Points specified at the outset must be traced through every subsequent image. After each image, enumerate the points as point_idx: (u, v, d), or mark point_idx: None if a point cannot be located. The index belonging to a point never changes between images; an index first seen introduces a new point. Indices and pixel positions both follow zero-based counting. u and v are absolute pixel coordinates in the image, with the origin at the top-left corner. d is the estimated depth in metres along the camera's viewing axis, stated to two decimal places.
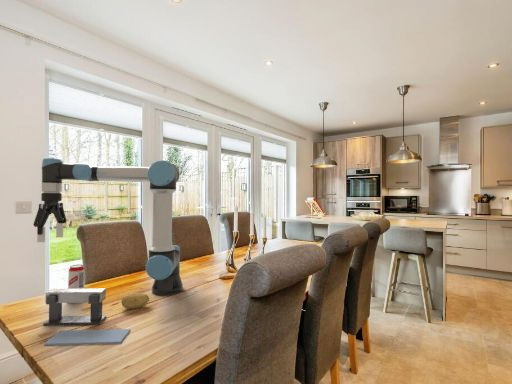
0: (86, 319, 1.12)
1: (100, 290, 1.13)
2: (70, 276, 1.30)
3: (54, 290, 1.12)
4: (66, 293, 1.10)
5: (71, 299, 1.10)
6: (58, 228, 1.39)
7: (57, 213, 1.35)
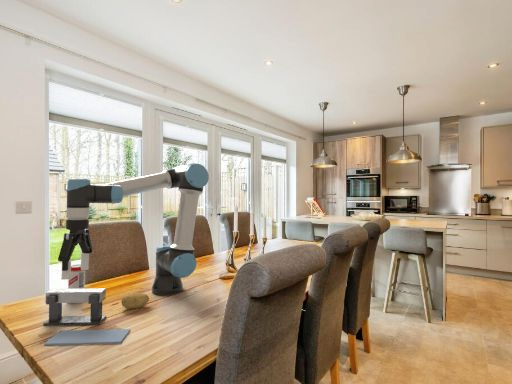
0: (86, 319, 1.12)
1: (100, 290, 1.13)
2: None
3: (54, 290, 1.12)
4: (66, 293, 1.10)
5: (71, 299, 1.10)
6: (83, 259, 1.19)
7: (83, 242, 1.16)
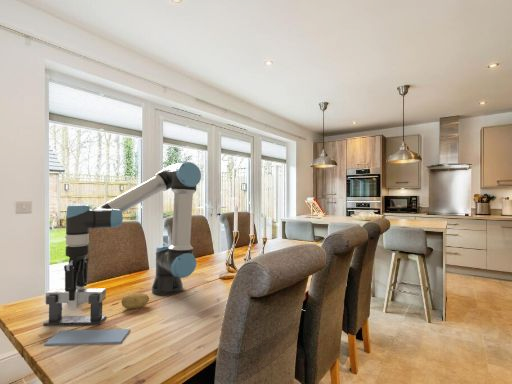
0: (86, 319, 1.12)
1: (100, 290, 1.13)
2: None
3: (54, 290, 1.12)
4: (66, 293, 1.10)
5: None
6: None
7: (80, 270, 1.14)
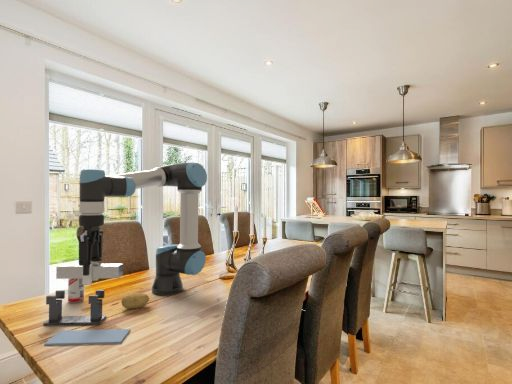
0: (86, 319, 1.12)
1: (117, 265, 1.01)
2: None
3: (66, 265, 1.00)
4: (79, 267, 0.98)
5: None
6: None
7: (95, 243, 1.02)
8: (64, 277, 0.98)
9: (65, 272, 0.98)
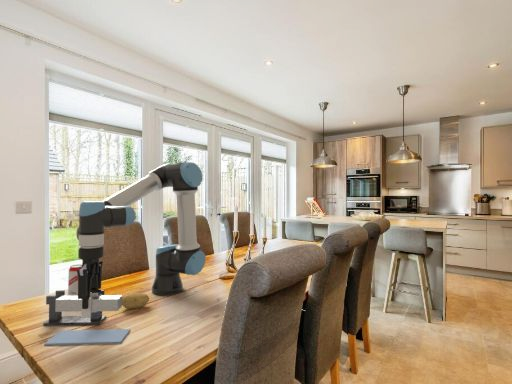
0: (86, 319, 1.12)
1: (116, 297, 1.00)
2: (70, 276, 1.30)
3: (65, 297, 1.00)
4: (78, 300, 0.98)
5: None
6: None
7: (94, 275, 1.02)
8: (63, 310, 0.98)
9: (64, 305, 0.98)
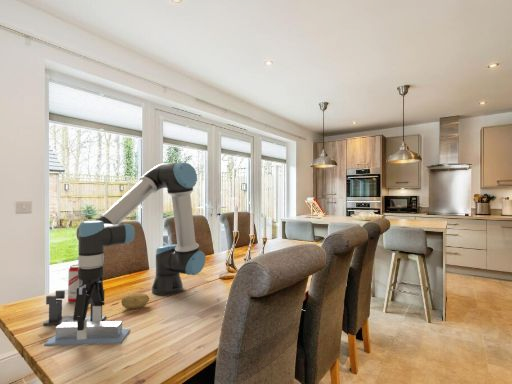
0: None
1: (116, 324, 1.01)
2: (70, 276, 1.30)
3: (65, 324, 1.00)
4: None
5: None
6: (95, 312, 1.05)
7: (96, 292, 1.03)
8: (63, 338, 0.98)
9: (64, 333, 0.98)
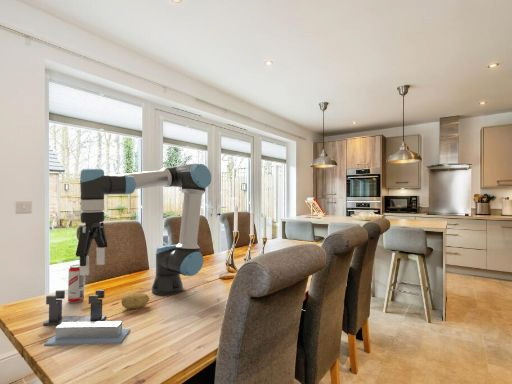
0: (86, 319, 1.12)
1: (116, 324, 1.01)
2: (70, 276, 1.30)
3: (65, 324, 1.00)
4: (78, 328, 0.98)
5: (84, 335, 0.98)
6: (98, 253, 1.13)
7: (98, 236, 1.10)
8: (63, 338, 0.98)
9: (64, 333, 0.98)
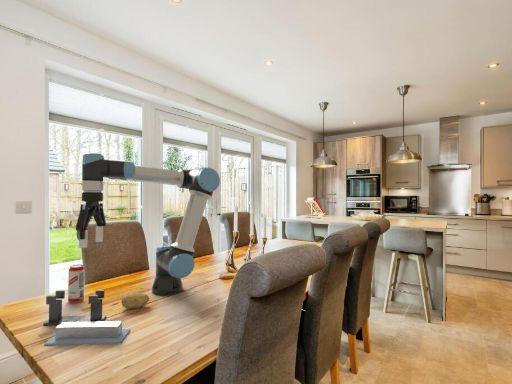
0: (86, 319, 1.12)
1: (116, 324, 1.01)
2: (70, 276, 1.30)
3: (65, 324, 1.00)
4: (78, 328, 0.98)
5: (84, 335, 0.98)
6: (97, 231, 1.24)
7: (97, 215, 1.21)
8: (63, 338, 0.98)
9: (64, 333, 0.98)
